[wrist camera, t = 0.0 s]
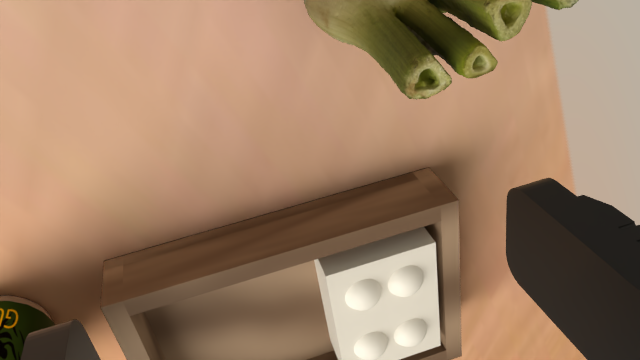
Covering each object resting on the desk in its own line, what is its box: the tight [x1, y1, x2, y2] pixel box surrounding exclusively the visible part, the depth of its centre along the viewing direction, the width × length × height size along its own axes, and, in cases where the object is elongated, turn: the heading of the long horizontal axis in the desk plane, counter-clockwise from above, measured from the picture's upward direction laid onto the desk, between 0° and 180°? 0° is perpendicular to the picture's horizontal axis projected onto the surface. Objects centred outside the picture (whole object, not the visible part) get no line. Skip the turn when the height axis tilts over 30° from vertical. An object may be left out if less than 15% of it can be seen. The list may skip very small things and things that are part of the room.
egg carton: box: [314, 227, 441, 360], centre depth 32 cm, size 8×6×4 cm
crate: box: [101, 168, 462, 360], centre depth 32 cm, size 12×18×4 cm, turn 99°
